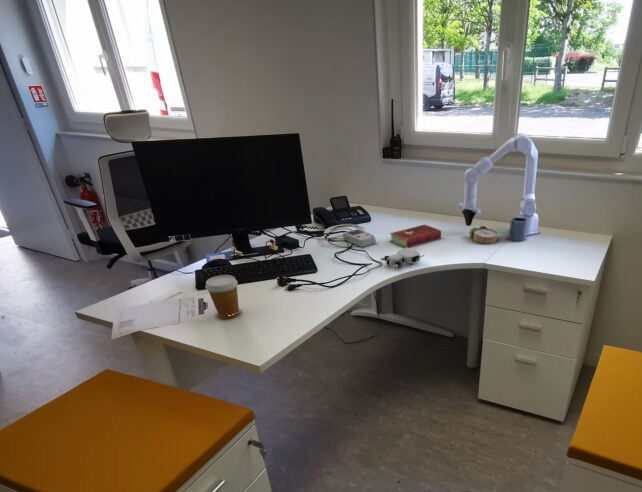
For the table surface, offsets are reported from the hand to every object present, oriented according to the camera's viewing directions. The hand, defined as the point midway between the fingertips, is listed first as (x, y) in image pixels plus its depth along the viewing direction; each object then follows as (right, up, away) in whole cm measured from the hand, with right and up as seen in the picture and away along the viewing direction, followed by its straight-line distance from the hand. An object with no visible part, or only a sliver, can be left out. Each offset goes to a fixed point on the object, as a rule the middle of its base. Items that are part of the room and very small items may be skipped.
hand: (468, 225), depth 218 cm
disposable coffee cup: (-87, -49, -69) cm, 121 cm away
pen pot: (+22, -8, -6) cm, 24 cm away
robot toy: (-31, -25, -32) cm, 51 cm away
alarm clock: (+6, -8, -6) cm, 12 cm away
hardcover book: (-25, -9, -7) cm, 28 cm away
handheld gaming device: (-51, -10, -9) cm, 53 cm away
